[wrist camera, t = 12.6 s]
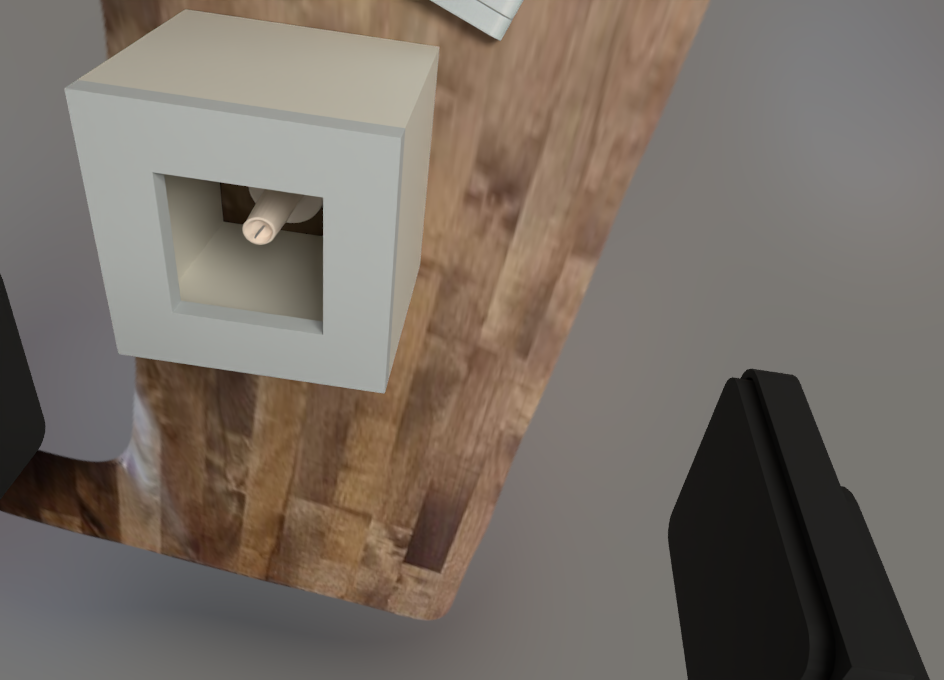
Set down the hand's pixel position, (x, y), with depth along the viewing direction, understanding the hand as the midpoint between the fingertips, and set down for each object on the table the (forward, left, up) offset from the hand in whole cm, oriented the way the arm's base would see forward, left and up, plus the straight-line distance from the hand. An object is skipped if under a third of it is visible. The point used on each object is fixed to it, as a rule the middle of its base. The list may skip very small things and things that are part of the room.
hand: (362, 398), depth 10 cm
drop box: (+12, -9, -32) cm, 35 cm away
